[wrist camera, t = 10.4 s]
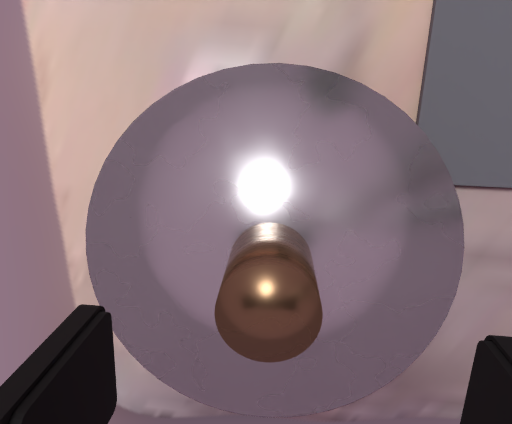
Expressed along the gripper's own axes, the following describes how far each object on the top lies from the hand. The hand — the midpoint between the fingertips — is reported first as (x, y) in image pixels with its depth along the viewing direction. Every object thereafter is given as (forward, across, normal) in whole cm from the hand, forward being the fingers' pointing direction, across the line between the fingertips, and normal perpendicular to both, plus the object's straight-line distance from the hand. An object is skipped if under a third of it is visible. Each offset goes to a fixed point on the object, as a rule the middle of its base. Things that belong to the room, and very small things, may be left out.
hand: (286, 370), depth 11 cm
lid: (+8, +1, 0) cm, 8 cm away
